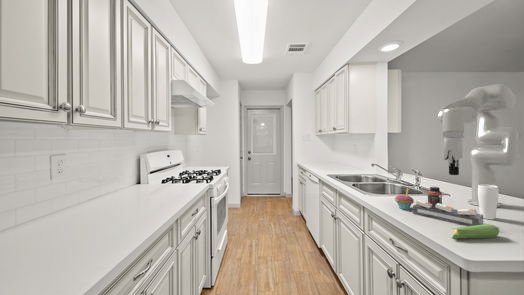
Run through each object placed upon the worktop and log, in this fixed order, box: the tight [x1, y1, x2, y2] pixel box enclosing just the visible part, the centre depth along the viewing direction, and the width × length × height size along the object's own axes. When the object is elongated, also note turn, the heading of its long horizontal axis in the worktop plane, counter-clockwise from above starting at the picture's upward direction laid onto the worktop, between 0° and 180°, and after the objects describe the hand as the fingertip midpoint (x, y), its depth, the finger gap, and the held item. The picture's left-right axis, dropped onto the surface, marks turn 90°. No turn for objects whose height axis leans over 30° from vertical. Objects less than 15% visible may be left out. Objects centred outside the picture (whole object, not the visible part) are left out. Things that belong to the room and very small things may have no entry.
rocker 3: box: [457, 208, 478, 215], centre depth 97 cm, size 3×6×2 cm, turn 35°
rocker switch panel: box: [412, 203, 484, 227], centre depth 105 cm, size 8×24×4 cm, turn 35°
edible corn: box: [450, 223, 500, 240], centre depth 85 cm, size 5×20×5 cm
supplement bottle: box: [427, 186, 443, 206], centre depth 120 cm, size 6×6×11 cm
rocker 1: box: [415, 199, 432, 208], centre depth 110 cm, size 3×6×2 cm, turn 35°
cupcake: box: [394, 186, 415, 211], centre depth 121 cm, size 9×8×12 cm
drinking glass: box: [478, 184, 500, 221], centre depth 104 cm, size 7×7×15 cm
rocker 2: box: [435, 203, 454, 213], centre depth 104 cm, size 3×6×2 cm, turn 35°
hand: (453, 174), depth 104 cm, fingers closed
